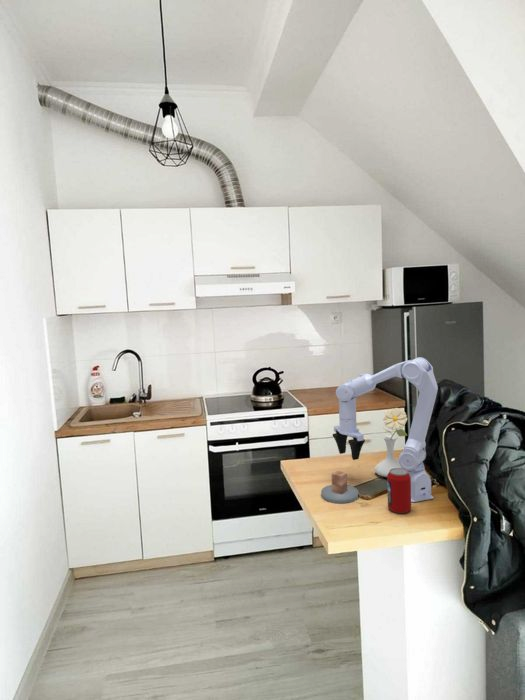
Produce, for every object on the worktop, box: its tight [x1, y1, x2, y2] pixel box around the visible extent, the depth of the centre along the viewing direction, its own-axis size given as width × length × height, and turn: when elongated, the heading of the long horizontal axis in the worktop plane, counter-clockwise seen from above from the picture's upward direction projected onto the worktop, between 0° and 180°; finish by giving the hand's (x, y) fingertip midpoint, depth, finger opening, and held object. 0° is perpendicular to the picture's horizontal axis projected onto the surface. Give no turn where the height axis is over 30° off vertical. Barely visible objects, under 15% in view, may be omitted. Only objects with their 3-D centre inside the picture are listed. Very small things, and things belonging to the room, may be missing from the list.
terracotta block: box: [331, 470, 348, 494], centre depth 155 cm, size 4×4×6 cm
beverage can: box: [386, 468, 412, 514], centre depth 143 cm, size 7×7×12 cm
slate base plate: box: [320, 484, 360, 504], centre depth 155 cm, size 12×12×2 cm
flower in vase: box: [374, 407, 408, 478], centre depth 170 cm, size 13×11×25 cm
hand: (348, 456), depth 165 cm, fingers open, 7 cm apart
